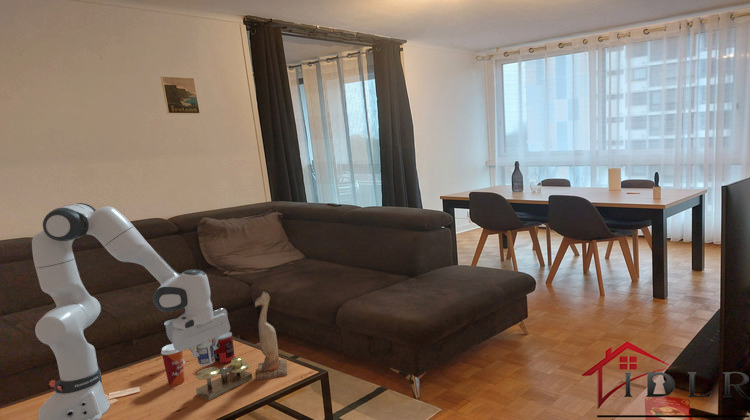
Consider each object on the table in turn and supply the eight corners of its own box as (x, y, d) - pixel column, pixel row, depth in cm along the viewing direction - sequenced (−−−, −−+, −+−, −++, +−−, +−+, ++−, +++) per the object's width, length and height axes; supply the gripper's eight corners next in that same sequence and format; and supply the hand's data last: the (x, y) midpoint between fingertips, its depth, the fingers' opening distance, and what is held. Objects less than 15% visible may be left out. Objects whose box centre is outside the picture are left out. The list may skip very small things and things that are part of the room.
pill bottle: (208, 358, 174) (204, 332, 173) (217, 361, 171) (214, 334, 170) (195, 364, 170) (191, 338, 169) (204, 367, 167) (201, 340, 166)
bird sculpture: (256, 369, 190) (244, 290, 185) (287, 362, 193) (275, 285, 188) (257, 382, 179) (244, 299, 174) (289, 374, 182) (277, 293, 177)
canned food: (214, 358, 202) (211, 333, 200) (234, 354, 204) (231, 329, 203) (214, 366, 195) (211, 340, 193) (235, 362, 197) (232, 336, 196)
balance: (206, 401, 167) (203, 379, 166) (194, 395, 172) (191, 374, 171) (254, 377, 182) (252, 357, 181) (241, 372, 187) (239, 352, 186)
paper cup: (179, 387, 179) (174, 351, 177) (161, 386, 181) (155, 351, 179) (191, 377, 187) (186, 342, 185) (173, 376, 188) (168, 342, 186)
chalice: (169, 362, 202) (163, 321, 200) (187, 358, 205) (181, 317, 202) (170, 369, 195) (164, 326, 193) (188, 364, 198) (182, 322, 196)
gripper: (221, 305, 178) (225, 341, 180) (167, 323, 163) (173, 362, 165) (231, 307, 174) (235, 344, 176) (177, 327, 159) (183, 366, 161)
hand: (205, 353), depth 170 cm, fingers closed on pill bottle, 5 cm apart
